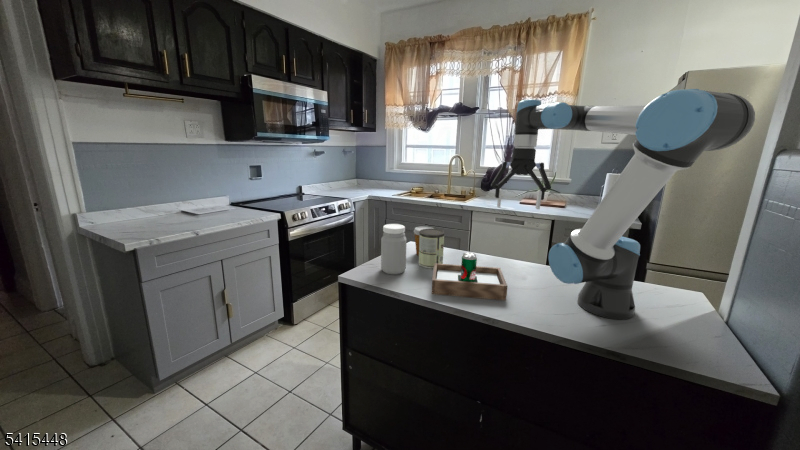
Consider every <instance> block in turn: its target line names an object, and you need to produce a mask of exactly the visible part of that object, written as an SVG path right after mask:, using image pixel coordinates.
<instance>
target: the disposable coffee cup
mask: <svg viewBox="0 0 800 450" xmlns="http://www.w3.org/2000/svg"><path fill="white" fill-rule="evenodd" d="M422 229H434V227H430V226H422V225H421V226H416V227H414V230H413V234H414V241H415V252H416V255H417V256H418V257H419V236H420V233H419V231H420V230H422Z"/></svg>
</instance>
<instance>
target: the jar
mask: <svg viewBox="0 0 800 450" xmlns="http://www.w3.org/2000/svg"><path fill="white" fill-rule="evenodd" d="M382 231H383V233H382V236H381V238H380V241H381V242H380V269H381V270H382V271H383V272H384V273H385V274H387V275H400V274H402V273H403V272H404V271H406V268H407V241H408V239H407V237H406V233H405V232H406V226H405V225H403V224H400V223H387V224H384V225H383V227H382Z"/></svg>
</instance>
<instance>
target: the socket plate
mask: <svg viewBox="0 0 800 450" xmlns="http://www.w3.org/2000/svg"><path fill="white" fill-rule="evenodd" d="M460 278H461V271H448V270H438V271H437V277H436V279H440V280H452V281H460ZM475 282H478V283H490V284H500V283H499V280H498V277H497V274H489V273H476V276H475Z"/></svg>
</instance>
